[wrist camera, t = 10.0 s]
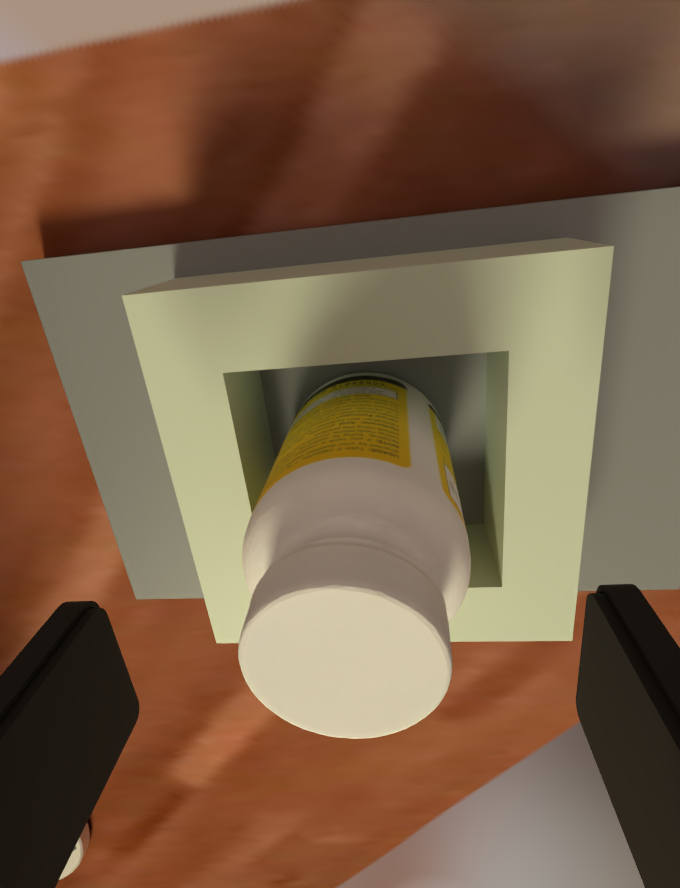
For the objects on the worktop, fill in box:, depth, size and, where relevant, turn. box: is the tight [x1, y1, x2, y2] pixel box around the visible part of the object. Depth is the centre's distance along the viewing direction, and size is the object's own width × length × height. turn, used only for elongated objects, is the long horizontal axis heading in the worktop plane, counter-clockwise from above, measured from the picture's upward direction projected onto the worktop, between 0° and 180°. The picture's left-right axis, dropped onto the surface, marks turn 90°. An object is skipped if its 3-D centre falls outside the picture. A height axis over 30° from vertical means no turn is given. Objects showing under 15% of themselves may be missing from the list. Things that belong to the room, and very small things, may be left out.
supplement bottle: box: [238, 372, 471, 739], centre depth 14 cm, size 5×5×10 cm
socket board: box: [21, 186, 680, 643], centre depth 17 cm, size 22×14×5 cm, turn 96°
